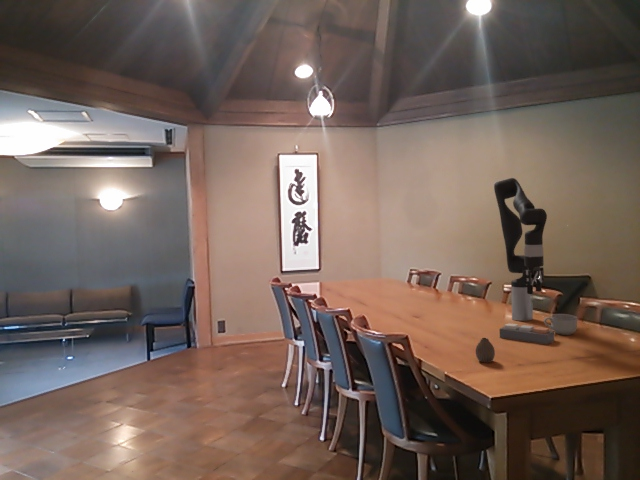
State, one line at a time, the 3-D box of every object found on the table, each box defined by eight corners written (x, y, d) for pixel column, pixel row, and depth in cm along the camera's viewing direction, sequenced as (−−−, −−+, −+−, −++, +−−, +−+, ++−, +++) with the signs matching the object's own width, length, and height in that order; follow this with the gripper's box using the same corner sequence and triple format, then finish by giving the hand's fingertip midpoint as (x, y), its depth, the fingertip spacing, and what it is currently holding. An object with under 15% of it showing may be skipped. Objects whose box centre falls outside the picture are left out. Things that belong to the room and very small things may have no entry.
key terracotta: (549, 334, 207) (549, 328, 207) (545, 336, 204) (545, 330, 204) (538, 332, 211) (538, 326, 211) (534, 334, 207) (534, 328, 207)
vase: (472, 359, 186) (472, 336, 186) (490, 358, 187) (489, 335, 186) (480, 364, 179) (479, 341, 179) (498, 363, 180) (497, 340, 180)
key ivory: (518, 329, 216) (518, 324, 216) (514, 332, 213) (514, 326, 213) (508, 328, 220) (508, 323, 220) (504, 330, 216) (504, 325, 216)
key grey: (533, 331, 212) (533, 326, 212) (529, 334, 209) (529, 328, 209) (523, 330, 215) (522, 325, 215) (519, 332, 212) (518, 327, 212)
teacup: (575, 331, 222) (575, 313, 222) (579, 336, 212) (579, 318, 212) (542, 329, 227) (542, 313, 227) (544, 335, 217) (544, 318, 216)
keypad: (554, 340, 208) (554, 331, 208) (547, 344, 202) (547, 335, 202) (507, 333, 222) (507, 325, 222) (499, 337, 216) (499, 328, 216)
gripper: (532, 253, 215) (532, 290, 215) (517, 256, 205) (518, 294, 206) (549, 254, 209) (550, 291, 210) (535, 256, 200) (536, 295, 200)
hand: (534, 292), depth 208 cm, fingers open, 8 cm apart
